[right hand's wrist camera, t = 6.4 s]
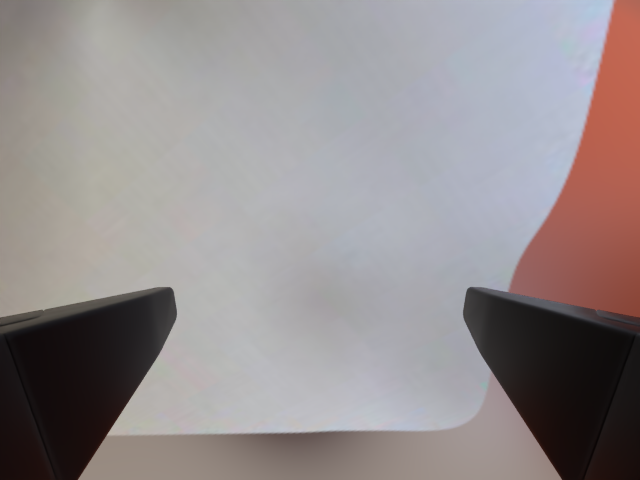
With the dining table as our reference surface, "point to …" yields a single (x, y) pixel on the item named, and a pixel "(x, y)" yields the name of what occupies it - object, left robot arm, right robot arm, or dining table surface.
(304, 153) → the dining table surface
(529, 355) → the right robot arm
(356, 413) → the dining table surface
